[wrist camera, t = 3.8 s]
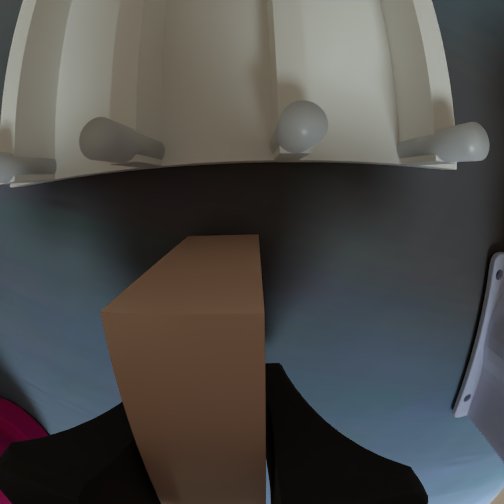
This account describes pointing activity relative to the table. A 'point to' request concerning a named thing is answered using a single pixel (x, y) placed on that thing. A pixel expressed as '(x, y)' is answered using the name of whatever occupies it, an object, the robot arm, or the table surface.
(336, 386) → the table surface
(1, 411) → the pepper mill
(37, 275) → the table surface
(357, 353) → the table surface
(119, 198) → the table surface
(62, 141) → the dish rack
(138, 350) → the tile
